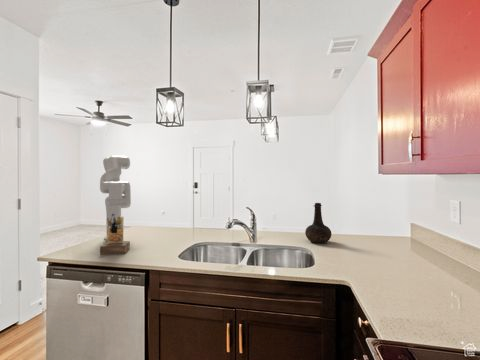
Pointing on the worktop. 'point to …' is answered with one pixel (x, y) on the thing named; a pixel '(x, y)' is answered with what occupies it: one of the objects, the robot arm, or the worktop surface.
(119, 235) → the candy box
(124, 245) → the walnut block
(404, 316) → the worktop surface
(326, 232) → the glass bottle
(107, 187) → the robot arm
